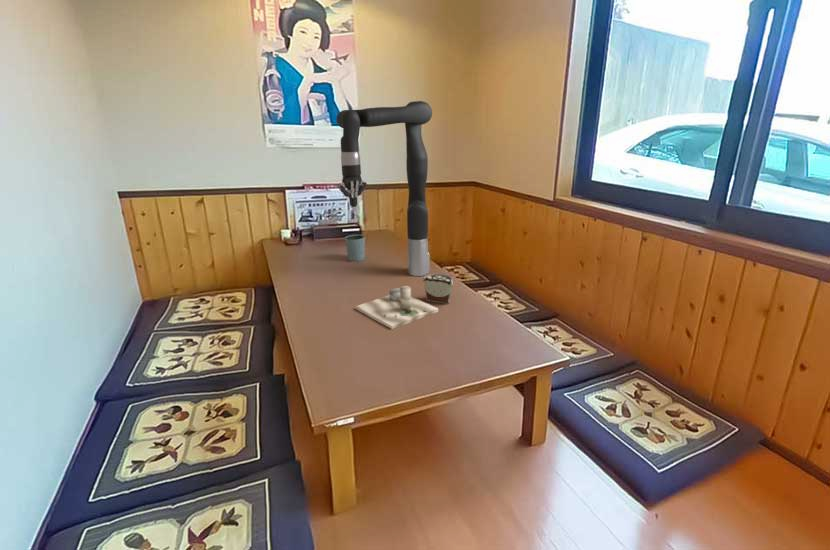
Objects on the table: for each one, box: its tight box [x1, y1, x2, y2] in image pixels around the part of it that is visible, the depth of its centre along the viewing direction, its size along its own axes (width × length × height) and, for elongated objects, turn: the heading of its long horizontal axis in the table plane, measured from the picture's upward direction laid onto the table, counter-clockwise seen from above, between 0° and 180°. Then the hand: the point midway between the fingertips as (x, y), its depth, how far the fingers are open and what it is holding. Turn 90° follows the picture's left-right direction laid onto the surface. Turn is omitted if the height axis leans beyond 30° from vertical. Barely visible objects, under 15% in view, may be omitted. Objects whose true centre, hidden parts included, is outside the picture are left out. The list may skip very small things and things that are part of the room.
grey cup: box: [344, 234, 366, 262], centre depth 227 cm, size 10×10×12 cm
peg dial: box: [389, 285, 412, 313], centre depth 169 cm, size 18×6×8 cm, turn 19°
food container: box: [422, 273, 454, 305], centre depth 176 cm, size 12×6×10 cm, turn 65°
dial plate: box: [355, 294, 439, 330], centre depth 168 cm, size 22×23×1 cm
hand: (353, 206), depth 181 cm, fingers closed
